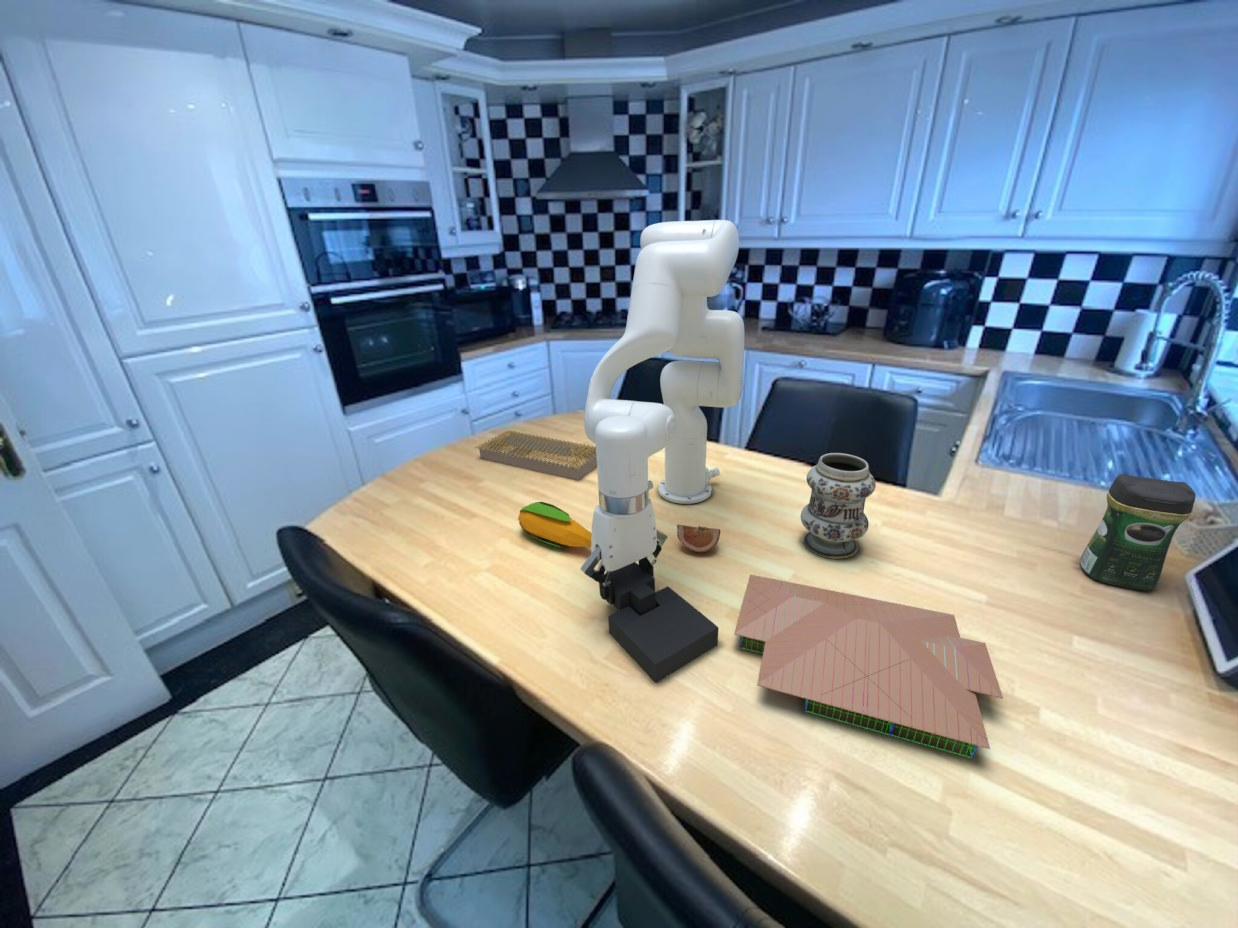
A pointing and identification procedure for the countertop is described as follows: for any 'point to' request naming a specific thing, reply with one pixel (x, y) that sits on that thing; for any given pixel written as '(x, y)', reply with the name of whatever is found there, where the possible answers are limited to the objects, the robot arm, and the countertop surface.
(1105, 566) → the coffee jar
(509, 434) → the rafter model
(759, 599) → the house
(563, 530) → the corn
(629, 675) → the countertop surface
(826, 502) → the apothecary jar
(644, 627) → the notch pad
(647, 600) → the tab pad
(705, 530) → the fruit slice
